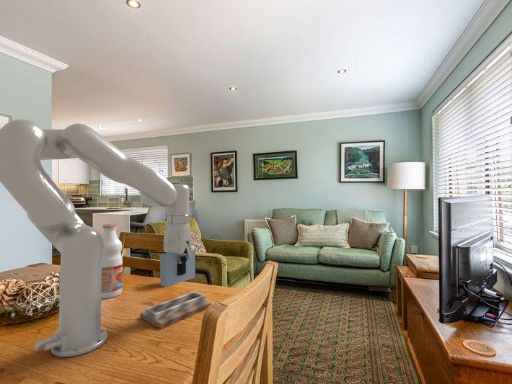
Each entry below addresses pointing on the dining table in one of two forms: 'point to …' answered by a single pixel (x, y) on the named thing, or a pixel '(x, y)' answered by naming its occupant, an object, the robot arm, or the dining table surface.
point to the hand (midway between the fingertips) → (178, 273)
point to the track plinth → (175, 309)
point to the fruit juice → (111, 263)
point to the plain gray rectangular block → (175, 269)
